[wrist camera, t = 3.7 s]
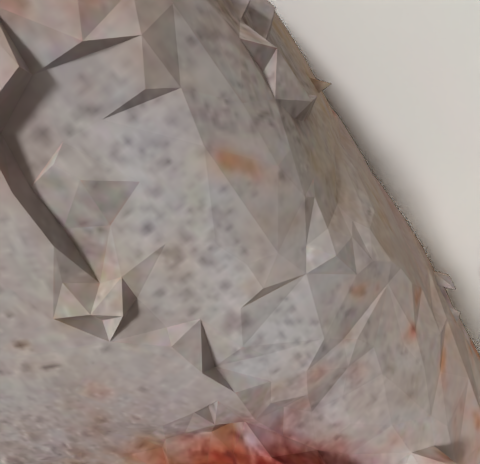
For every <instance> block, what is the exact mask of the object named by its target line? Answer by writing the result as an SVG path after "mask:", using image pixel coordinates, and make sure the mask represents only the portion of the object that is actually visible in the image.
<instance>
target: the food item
mask: <svg viewBox="0 0 480 464" xmlns="http://www.w3.org/2000/svg"><path fill="white" fill-rule="evenodd" d="M329 85H331V83H327V82H324V81H320V80H317V79H316V78H315V77H314V75H313V73H312V71H311V69H310V67H309V65H308V63H307V61H306V60H305V58H304V56H303V55H302V53H301V51H300V50H299V48H298V47H297V45H296V43H295V42H294V40H293V38H292V37H291V35H290V34H289V32H288V30H287V29H286V27H285V25H284V24H283V22H282V21H281V19H280V18H279V17H278V15H277V14H276V12H275V7H274V6H273V5H272V4H271V3H270V2H269V1H268V0H0V464H480V356H479V354H478V352H477V350H476V348H475V346H474V344H473V342H472V340H471V338H470V336H469V334H468V333H467V331H466V329H465V327H464V325H463V324H462V322H461V320H460V318H459V315H460V312H459V311H457V310H455V309H454V307H453V306H452V304H451V301H450V299H449V297H448V295H447V292H446V290H445V288H444V287H446V288H451V289H455V287H454V284H453V282H452V280H451V278H450V276H449V275H448V274H445V273H440V272H435V271H434V269H433V267H432V265H431V263H430V261H429V259H428V257H427V255H426V253H425V251H424V249H423V247H422V245H421V244H420V242H419V241H418V240H417V238H416V236H415V235H414V233H413V231H412V230H411V228H410V226H409V225H408V223H407V222H406V220H405V219H404V217H403V216H402V214H401V213H400V211H399V210H398V209H397V207H396V206H395V204H394V203H393V201H392V200H391V199H390V197H389V196H388V194H387V193H386V191H385V190H384V188H383V187H382V185H381V184H380V182H379V181H378V179H377V178H375V177H374V176H373V174H372V172H371V170H370V168H369V166H368V165H367V163H366V161H365V159H364V157H363V155H362V154H361V152H360V150H359V149H358V147H357V145H356V144H355V142H354V140H353V139H352V137H351V136H350V134H349V132H348V131H347V129H346V127H345V126H344V124H343V122H342V121H341V119H340V117H339V116H338V115H337V114H336V112H335V111H334V110H333V109H332V108H331V107H330V105H329V103H328V101H327V99H326V97H325V95H324V93H323V92H322V90H324V89H325V88H326V87H328V86H329ZM455 290H456V289H455Z"/></svg>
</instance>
